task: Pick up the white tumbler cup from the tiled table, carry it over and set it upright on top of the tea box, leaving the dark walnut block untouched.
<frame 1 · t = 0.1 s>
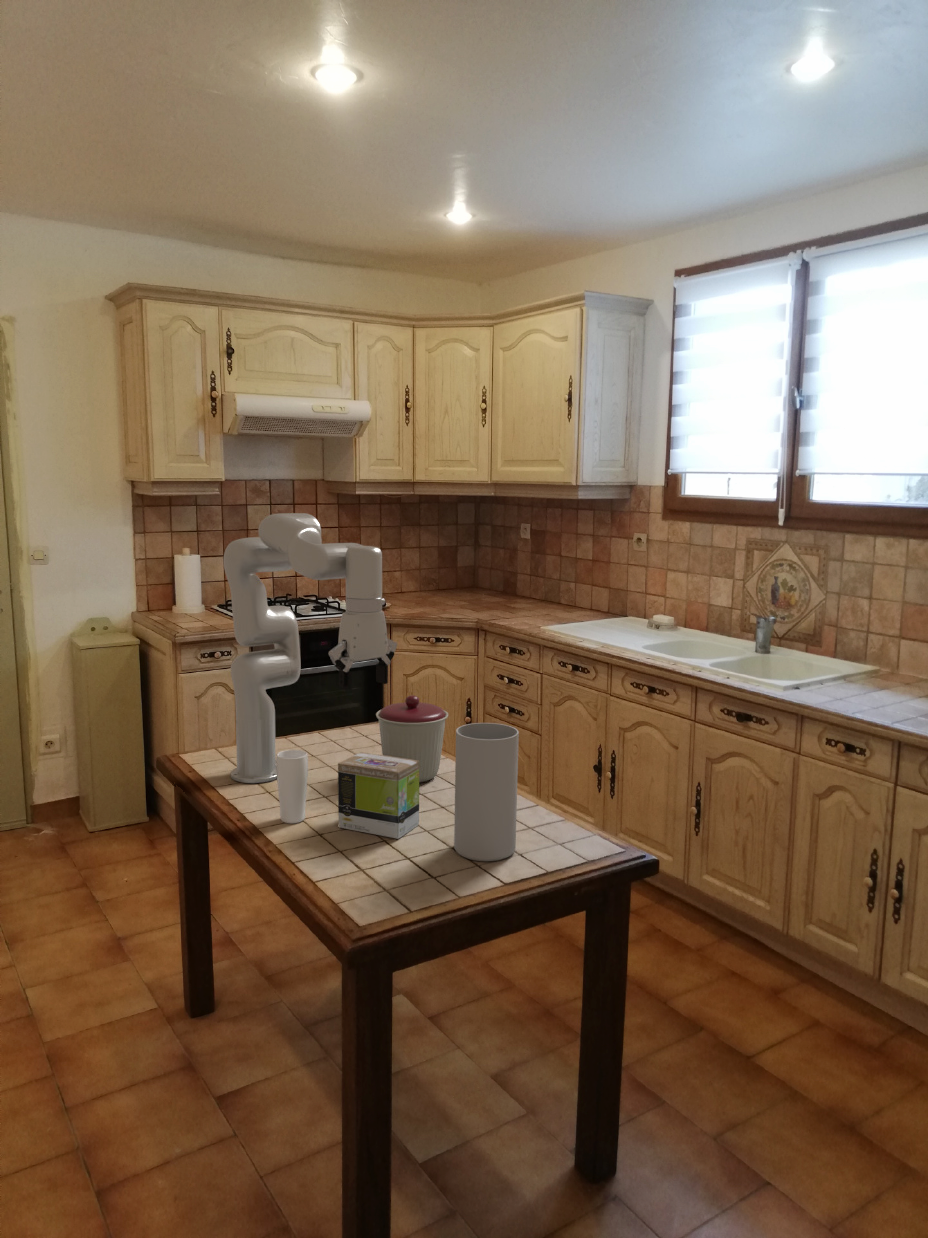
hand: (363, 686, 190), 31 cm above the table, tool pointing down, fingers open, 9 cm apart
white tumbler cup: (292, 820, 198), on the table
cylinder vase: (484, 851, 183), on the table
walnut block: (389, 803, 209), on the table
tea box: (378, 827, 195), on the table
canister: (411, 777, 228), on the table
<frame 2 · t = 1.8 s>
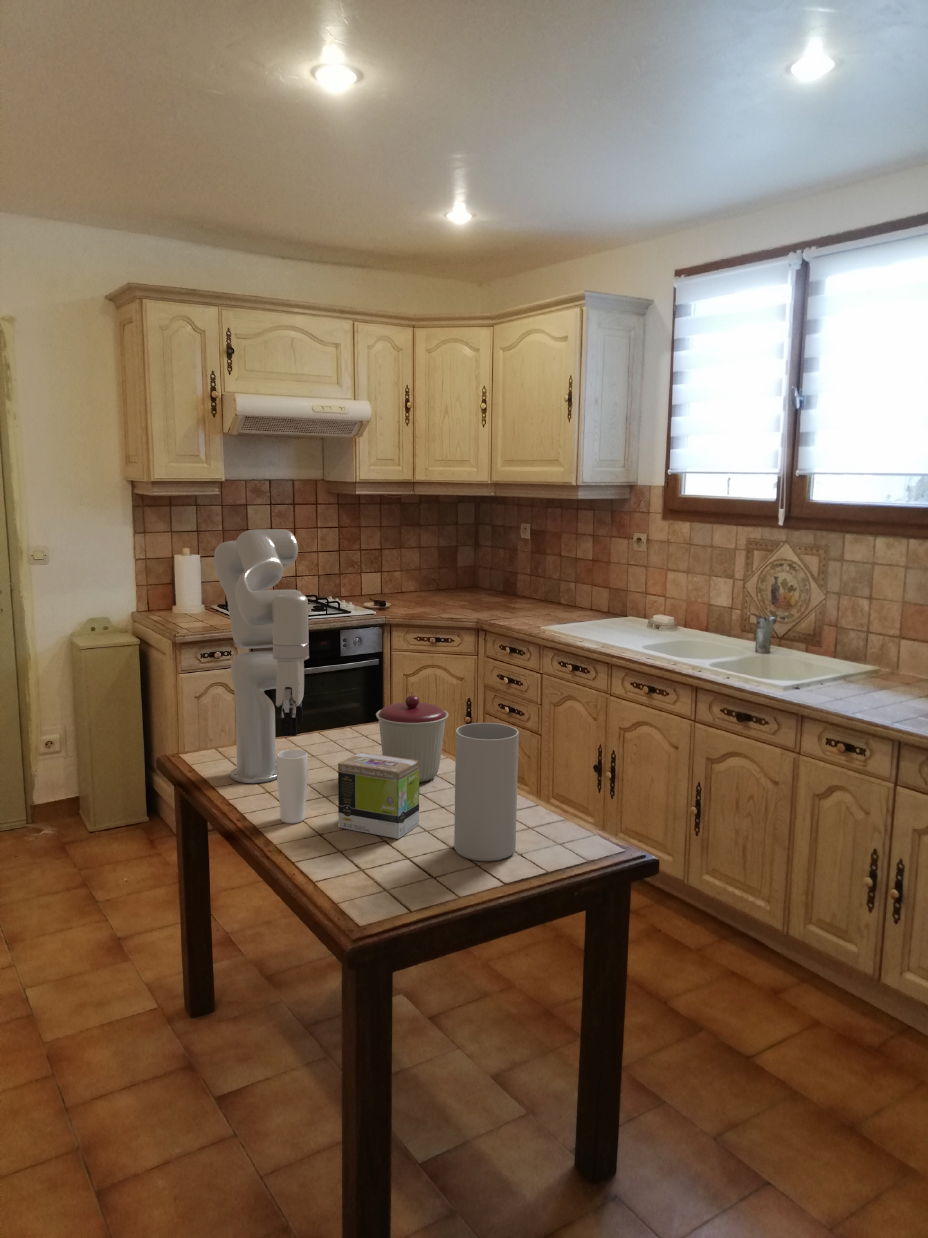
hand: (292, 729, 194), 21 cm above the table, tool pointing down, fingers open, 9 cm apart
nothing on the table moved.
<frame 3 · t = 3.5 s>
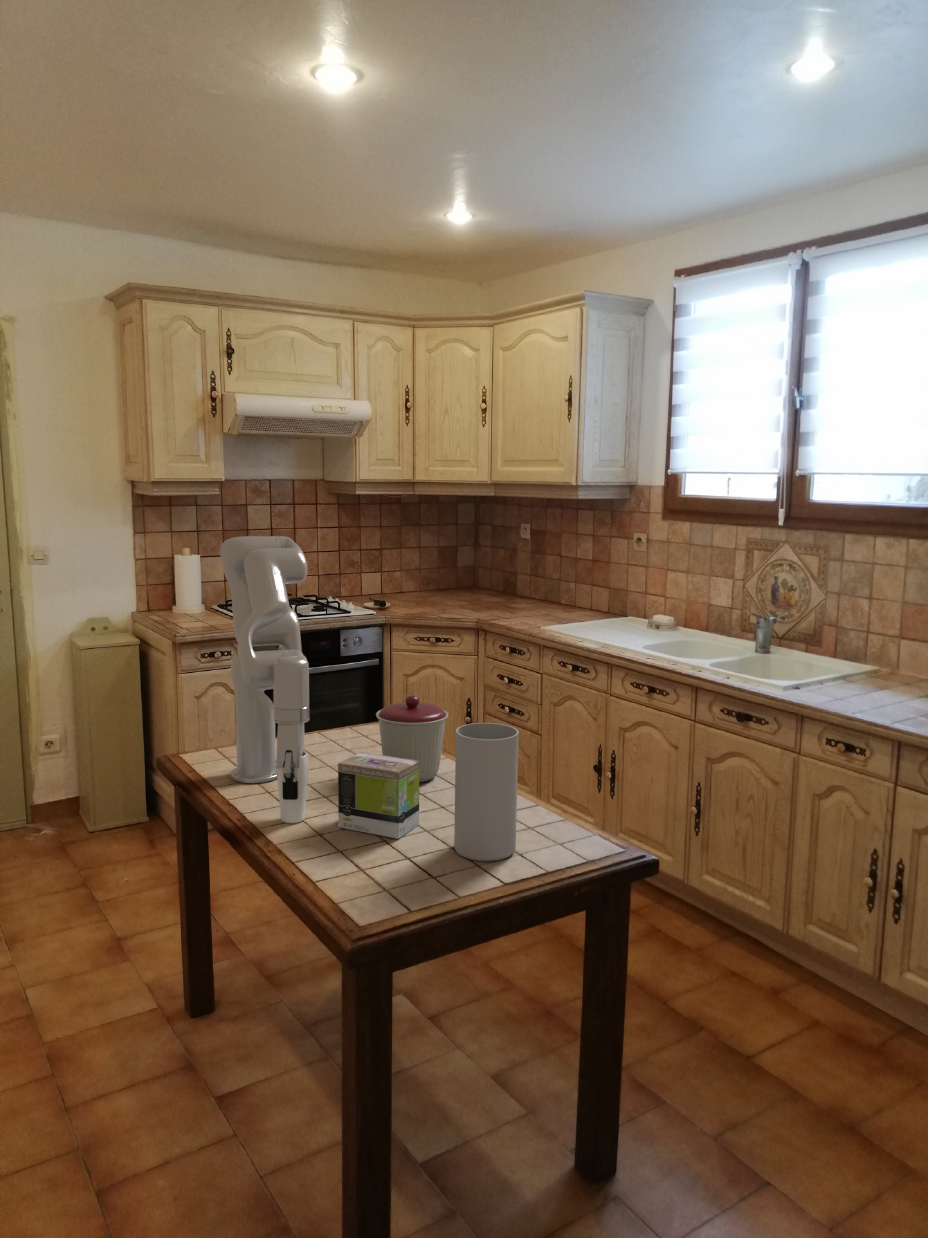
hand: (292, 792, 197), 6 cm above the table, tool pointing down, fingers closed on white tumbler cup, 6 cm apart
white tumbler cup: (292, 820, 198), on the table, touching gripper
everything else where it was.
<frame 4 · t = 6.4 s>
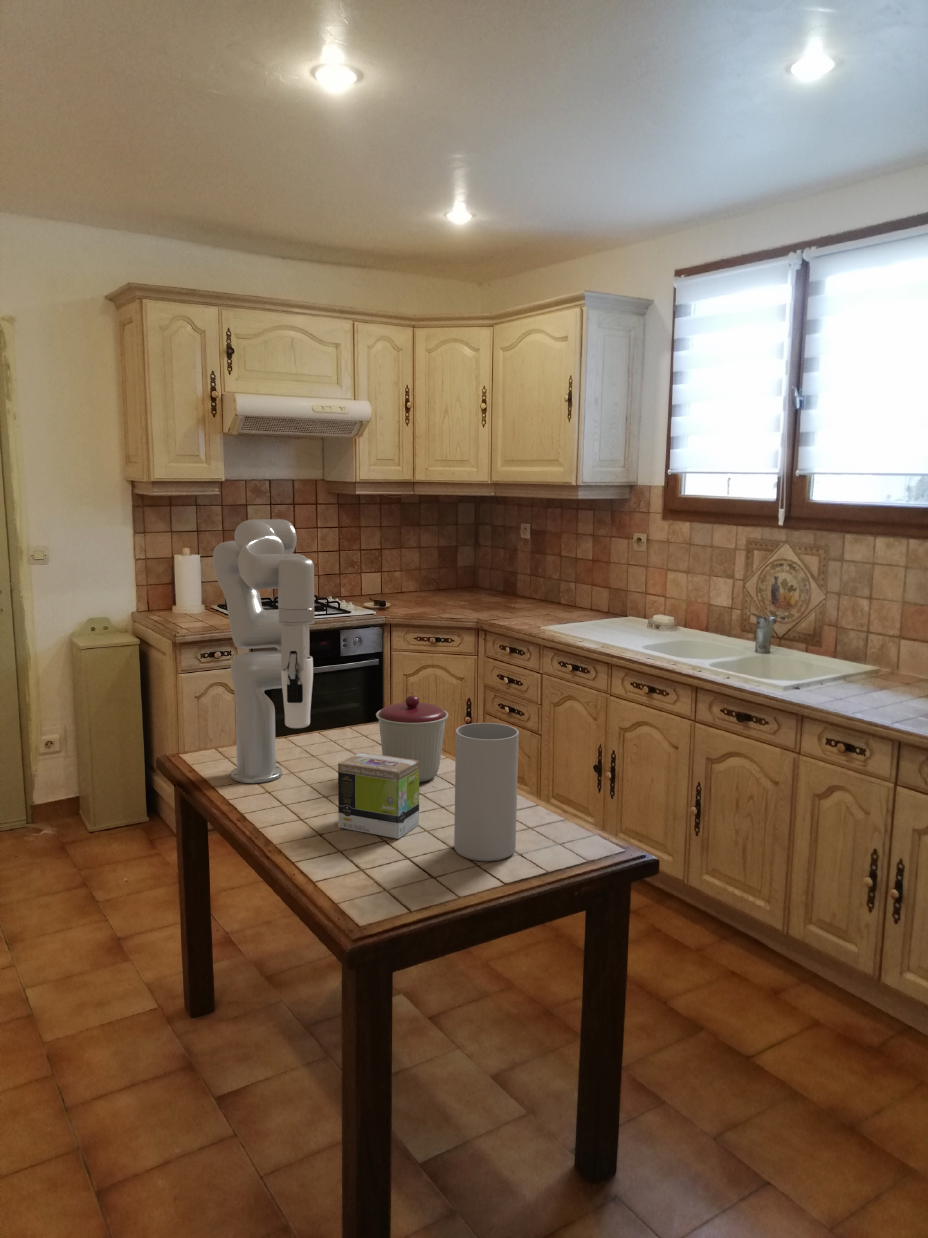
hand: (297, 697, 194), 28 cm above the table, tool pointing down, fingers closed on white tumbler cup, 6 cm apart
white tumbler cup: (297, 726, 195), point 21 cm above the table, touching gripper
everything else where it was.
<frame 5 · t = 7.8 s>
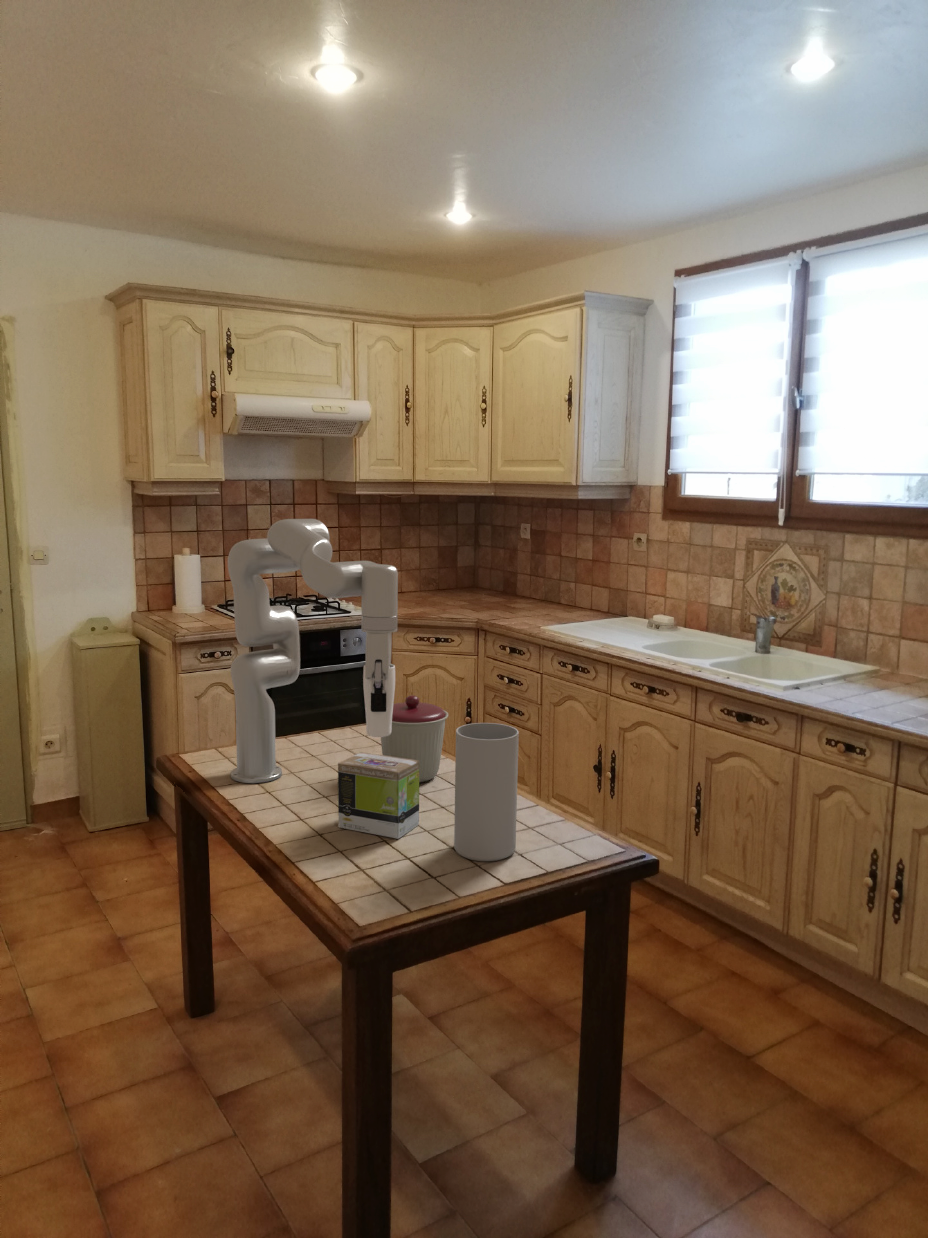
hand: (379, 706, 191), 27 cm above the table, tool pointing down, fingers closed on white tumbler cup, 6 cm apart
white tumbler cup: (378, 735, 192), point 20 cm above the table, touching gripper
everything else where it was.
when the fingers open (22 cm above the table, at t = 9.1 s): white tumbler cup drops 2 cm, resting on tea box.
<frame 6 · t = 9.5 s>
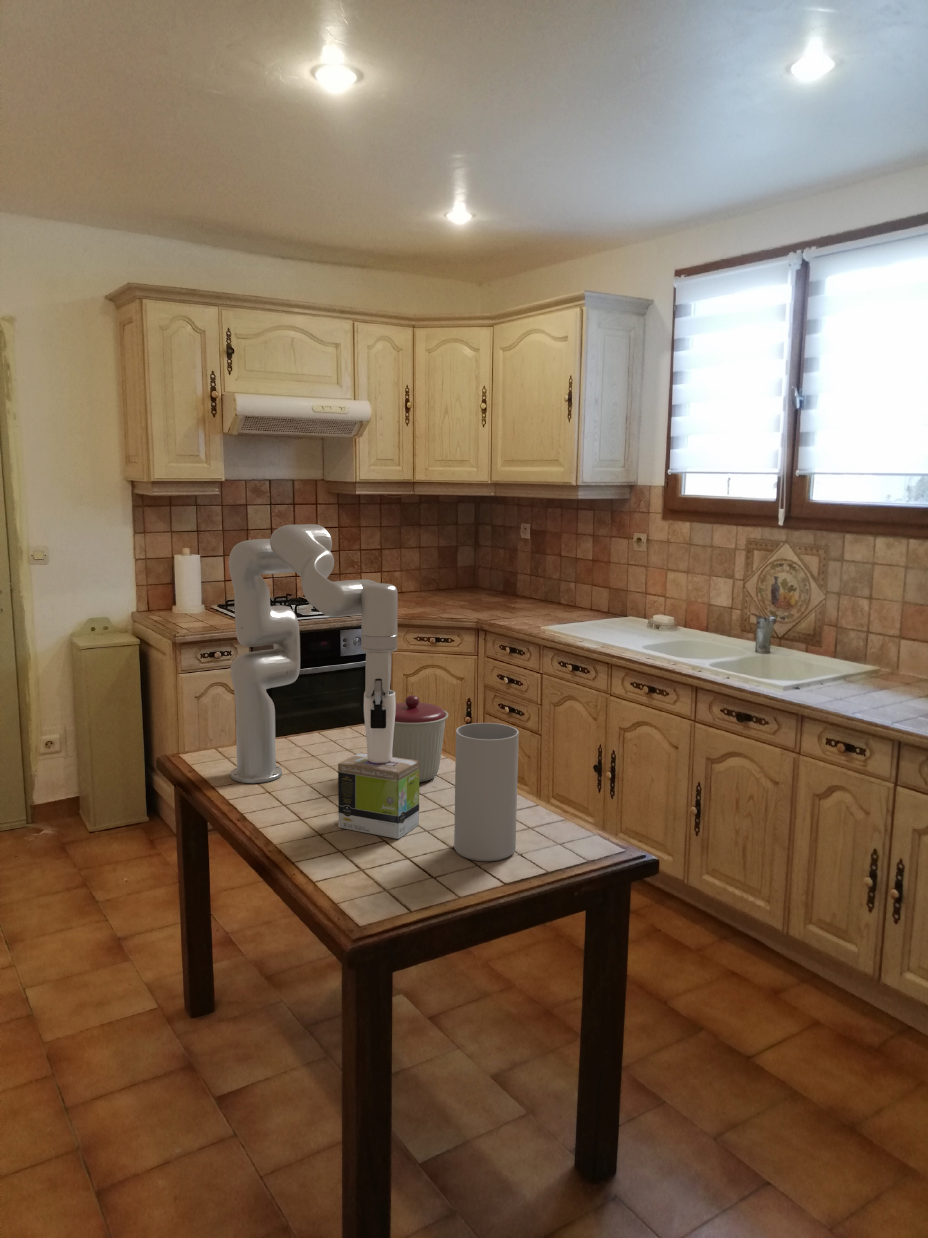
hand: (379, 721, 192), 23 cm above the table, tool pointing down, fingers open, 9 cm apart
white tumbler cup: (379, 761, 193), point 14 cm above the table, touching tea box
tea box: (378, 827, 195), on the table, touching white tumbler cup
everything else where it was.
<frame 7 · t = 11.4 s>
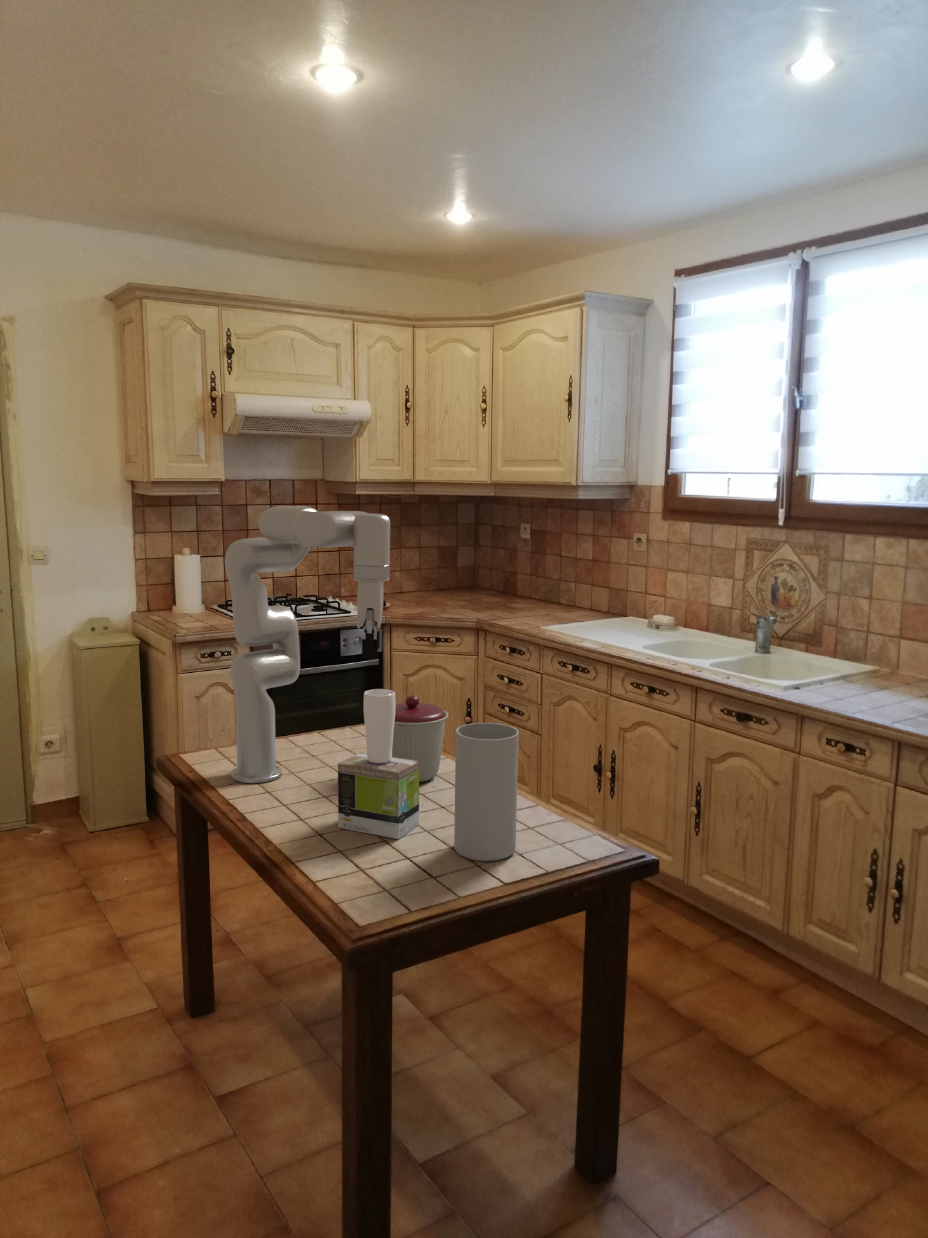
hand: (370, 653, 191), 38 cm above the table, tool pointing down, fingers open, 9 cm apart
nothing on the table moved.
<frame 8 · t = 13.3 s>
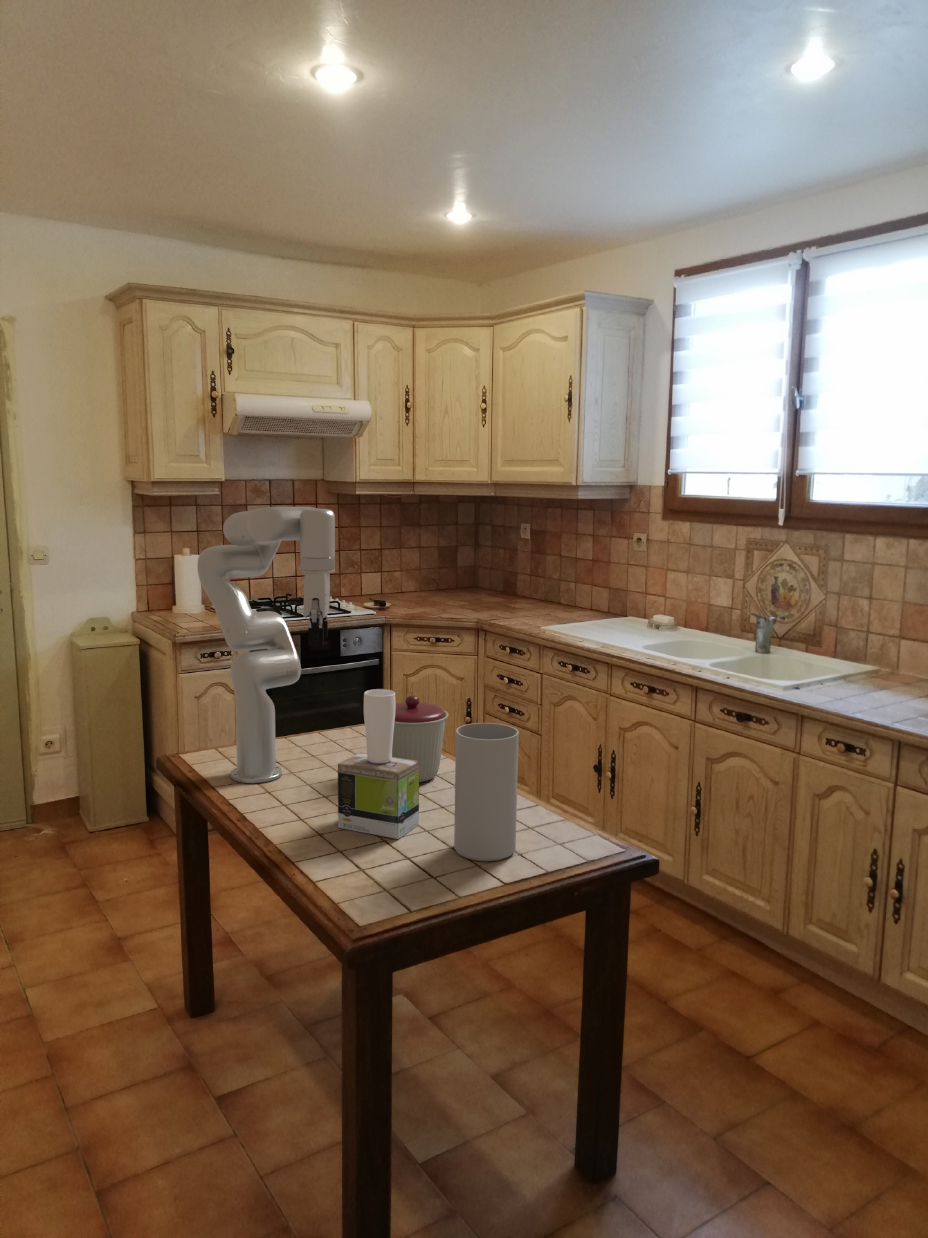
hand: (318, 642, 200), 38 cm above the table, tool pointing down, fingers open, 9 cm apart
nothing on the table moved.
at the end: white tumbler cup inside the target area on the tea box (0.3 cm from its centre), point 14.8 cm above the tea box's base; white tumbler cup tilted 0°; the gripper is holding nothing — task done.
